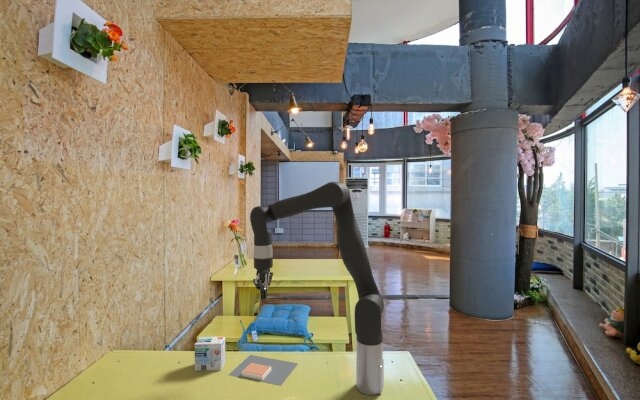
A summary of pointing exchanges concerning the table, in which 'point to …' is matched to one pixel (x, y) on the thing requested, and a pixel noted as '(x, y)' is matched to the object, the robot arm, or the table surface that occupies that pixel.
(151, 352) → the table surface
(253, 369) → the card deck
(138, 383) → the table surface
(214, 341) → the light bulb box
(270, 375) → the mat
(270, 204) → the robot arm
